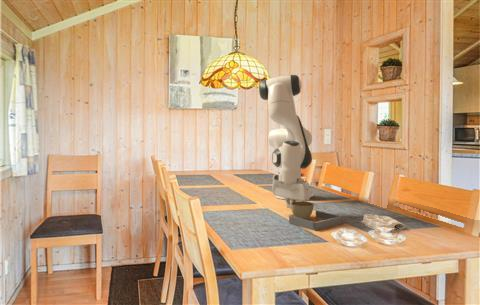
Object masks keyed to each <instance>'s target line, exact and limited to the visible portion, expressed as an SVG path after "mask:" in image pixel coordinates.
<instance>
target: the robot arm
mask: <svg viewBox="0 0 480 305" xmlns="http://www.w3.org/2000/svg"><path fill="white" fill-rule="evenodd" d="M302 86H303V84H302V80H301V79H300V76H298V75H296V74H291V75H281V76H280V75H279V76H276V77H272V78H268V79H263V80H261V81H260V82H259V84H258V88H257V89H258V90H257V91H258V94H259V97H260V98H261V100H264V101H267V107H268V114H269V117H270V119H271V120H272V121H273V122H274V123H276V124H278V125H280V126H282V127H284V128H276V129H275V128H274V129H271V130H270V131H269V133H268V134H267V135H268V137H267V141H268V143H269V145H270V146H271V147H272V148H273V149H274V151H273V152H272V154H271V155H272V156H271V158H272V160H271V162H272V164H273V165H274V166H275V167H276V168H278V173H277V174H273V176H272V187H271V188H272V191H271V192H272V194H273V195H274V196H275V198H277V199H279V200H284V201H285V203H286V208H287V209H290V210H292V209H291V203H292V202H297V201H303V202H310V198H313V197H314V194H312V193H311V192H310V184H309V182H308V180H306V179H302V178H304V177H305V174H304V173H303V172H302V169H307V168H309V166H310V165H311V163H312V161H313V155H312V152H311V149H310V146H311V144H312V141H313V135H312V134H311V132H310V131H309V130H308V129H306V128H305V126H303V124H302V121H301V118H300V116H299V115H297V111H296V106H295V100H294V97H295V96H297V95H299V94H300V93H301V92H302V91H301V90H302Z"/></svg>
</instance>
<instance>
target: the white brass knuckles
mask: <svg viewBox="0 0 480 305" xmlns="http://www.w3.org/2000/svg"><path fill="white" fill-rule="evenodd" d="M362 218H363V219H362V220H360V222H361V223H362V224H364V226H366V227H369V229H371V230H375V228H377V227H387V228H394V229H397V231H403V230H405V228H406V224H404V223H403V222H399V221H398V220H396V219H395V218H392V217H390V216H387V215H378V214H370V213H369V214H363V217H362ZM395 226H396V227H395ZM398 228H399V229H400V230H399V229H398Z"/></svg>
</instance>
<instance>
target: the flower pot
mask: <svg viewBox="0 0 480 305" xmlns="http://www.w3.org/2000/svg"><path fill="white" fill-rule="evenodd" d="M290 203H291V202H290ZM314 206H315V203H313V202H310V201H305V202H303V201H299V200H296V201H295V202H292V203H291V209H290V210H291V212H292V216H293V217H297V218H301V219H304V220H308V221H309V219H310V217H311V216H312V213H313V210H314V208H315V207H314Z"/></svg>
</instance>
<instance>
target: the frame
mask: <svg viewBox="0 0 480 305" xmlns="http://www.w3.org/2000/svg"><path fill="white" fill-rule="evenodd" d="M315 218H316V219H321V220H319V221H311V220H309V219H308V220H304V219H301V218H297V217H294V215H289V216H288V219H289V220H288V224H290V225H294V226H297V227H301V228H305V229H308V230H312V231H314V230H315V231H318V230H319V231H320V230H323V229H327V228H332V227H335V226H339V225H342V224H344V216H342V215H338V214H334V213H331V212H330V213H329V212H325V211H320V210H315Z"/></svg>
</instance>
